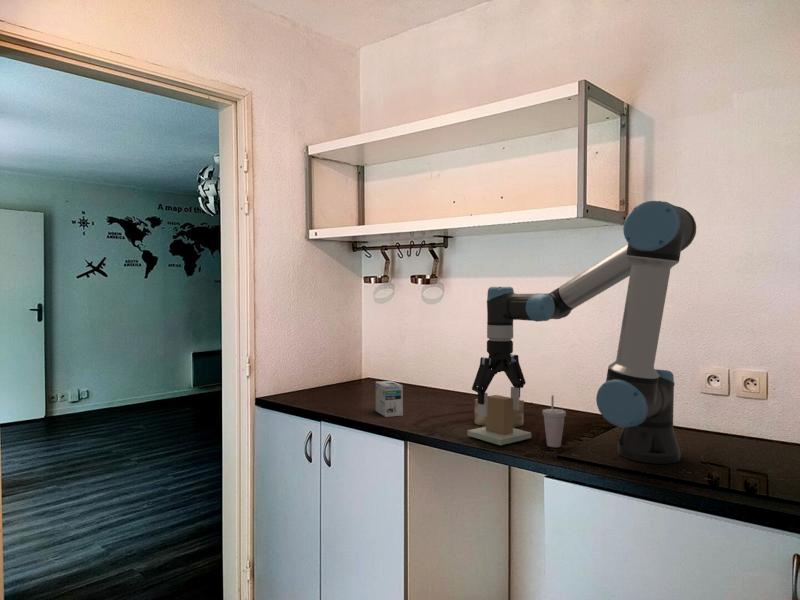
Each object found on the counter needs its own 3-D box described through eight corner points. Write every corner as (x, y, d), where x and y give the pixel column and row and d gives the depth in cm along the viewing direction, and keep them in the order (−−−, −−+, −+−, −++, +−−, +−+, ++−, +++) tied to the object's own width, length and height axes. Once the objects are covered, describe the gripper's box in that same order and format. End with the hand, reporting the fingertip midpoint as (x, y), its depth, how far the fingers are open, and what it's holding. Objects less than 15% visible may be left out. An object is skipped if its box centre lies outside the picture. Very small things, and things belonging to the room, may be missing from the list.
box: (523, 425, 181) (523, 400, 181) (500, 430, 174) (500, 404, 174) (497, 418, 190) (497, 395, 190) (474, 423, 183) (474, 398, 183)
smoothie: (537, 443, 160) (537, 394, 159) (556, 441, 162) (556, 392, 162) (551, 449, 154) (551, 398, 153) (570, 447, 156) (571, 396, 156)
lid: (531, 437, 163) (531, 398, 163) (500, 445, 156) (501, 403, 155) (497, 428, 174) (498, 391, 174) (467, 435, 166) (467, 396, 166)
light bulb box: (403, 416, 194) (403, 384, 193) (385, 417, 191) (385, 385, 191) (392, 409, 204) (392, 380, 203) (374, 411, 201) (374, 381, 201)
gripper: (518, 336, 175) (517, 404, 175) (459, 340, 159) (459, 415, 160) (537, 338, 169) (537, 409, 169) (478, 343, 153) (478, 420, 154)
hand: (499, 412), depth 165 cm, fingers open, 13 cm apart
